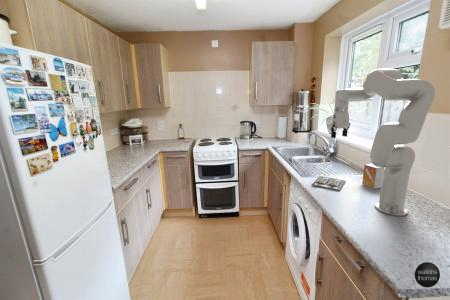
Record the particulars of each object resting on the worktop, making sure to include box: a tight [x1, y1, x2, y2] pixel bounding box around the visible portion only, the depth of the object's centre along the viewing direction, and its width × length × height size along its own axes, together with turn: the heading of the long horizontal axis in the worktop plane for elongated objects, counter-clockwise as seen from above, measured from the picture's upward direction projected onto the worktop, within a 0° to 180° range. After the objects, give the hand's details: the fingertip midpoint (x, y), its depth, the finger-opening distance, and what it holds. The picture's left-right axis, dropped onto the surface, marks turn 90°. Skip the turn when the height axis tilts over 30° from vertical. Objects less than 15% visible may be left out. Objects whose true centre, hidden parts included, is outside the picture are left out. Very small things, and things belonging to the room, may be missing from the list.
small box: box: [362, 163, 385, 190], centre depth 131 cm, size 8×6×13 cm
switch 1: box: [318, 174, 325, 184], centre depth 136 cm, size 3×3×5 cm
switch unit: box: [311, 176, 346, 192], centre depth 137 cm, size 18×16×2 cm
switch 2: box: [330, 176, 338, 187], centre depth 131 cm, size 3×3×5 cm
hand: (339, 137), depth 138 cm, fingers open, 9 cm apart
